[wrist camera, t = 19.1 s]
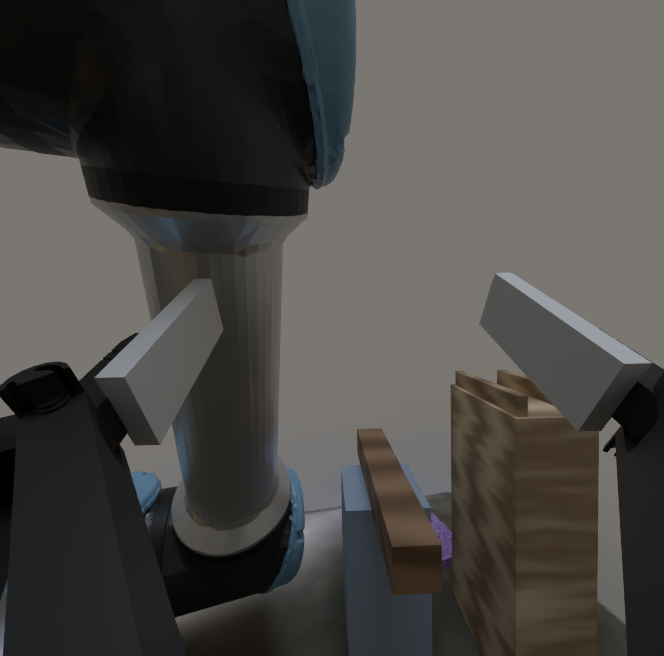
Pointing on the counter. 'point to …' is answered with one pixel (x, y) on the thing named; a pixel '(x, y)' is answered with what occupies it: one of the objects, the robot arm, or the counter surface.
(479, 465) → the oak post
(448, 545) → the sponges
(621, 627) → the counter surface
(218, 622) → the counter surface
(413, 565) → the walnut bar
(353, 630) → the blue step
